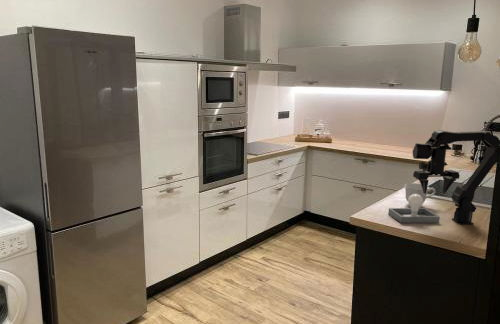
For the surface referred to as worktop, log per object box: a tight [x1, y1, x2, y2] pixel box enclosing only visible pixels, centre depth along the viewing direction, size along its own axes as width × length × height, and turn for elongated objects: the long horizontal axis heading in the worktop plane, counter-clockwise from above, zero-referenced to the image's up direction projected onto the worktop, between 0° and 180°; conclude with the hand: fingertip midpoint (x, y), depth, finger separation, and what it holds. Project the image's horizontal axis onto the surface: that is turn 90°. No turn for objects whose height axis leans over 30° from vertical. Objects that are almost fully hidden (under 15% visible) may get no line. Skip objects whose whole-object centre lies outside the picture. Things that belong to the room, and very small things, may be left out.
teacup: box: [403, 182, 436, 204], centre depth 197 cm, size 12×15×10 cm
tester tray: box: [387, 207, 440, 225], centre depth 178 cm, size 18×12×3 cm, turn 97°
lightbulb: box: [407, 194, 424, 216], centre depth 177 cm, size 6×6×11 cm
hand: (434, 193), depth 174 cm, fingers open, 9 cm apart
